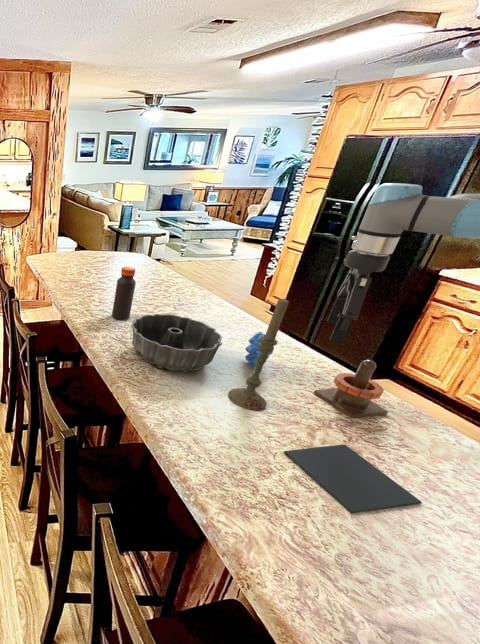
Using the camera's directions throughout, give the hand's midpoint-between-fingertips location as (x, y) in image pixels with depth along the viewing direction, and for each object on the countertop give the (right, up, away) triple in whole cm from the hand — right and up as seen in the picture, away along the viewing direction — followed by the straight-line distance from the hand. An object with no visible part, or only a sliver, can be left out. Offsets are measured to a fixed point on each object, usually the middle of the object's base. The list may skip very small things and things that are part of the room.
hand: (334, 331), depth 102 cm
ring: (+7, -15, +1) cm, 16 cm away
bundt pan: (-34, -9, +24) cm, 42 cm away
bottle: (-40, +5, +52) cm, 66 cm away
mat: (-15, -30, -20) cm, 39 cm away
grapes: (-8, -12, +19) cm, 24 cm away
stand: (+6, -20, +3) cm, 21 cm away
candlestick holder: (-21, -19, +4) cm, 28 cm away
